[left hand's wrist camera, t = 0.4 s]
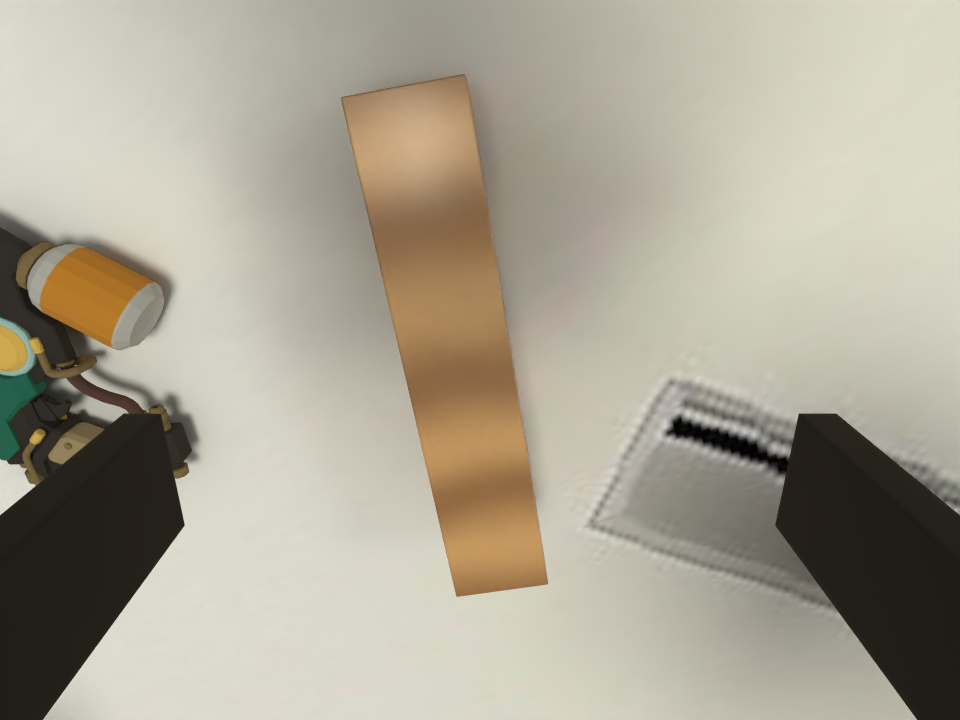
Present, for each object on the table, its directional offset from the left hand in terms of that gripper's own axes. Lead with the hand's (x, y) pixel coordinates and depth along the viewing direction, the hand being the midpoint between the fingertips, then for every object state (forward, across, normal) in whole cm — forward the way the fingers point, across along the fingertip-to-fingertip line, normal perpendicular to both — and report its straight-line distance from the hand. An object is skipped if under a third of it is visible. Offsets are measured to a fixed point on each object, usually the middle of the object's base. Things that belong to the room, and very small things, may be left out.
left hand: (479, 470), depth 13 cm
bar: (+23, -1, -4) cm, 24 cm away
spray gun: (+23, -24, -6) cm, 34 cm away
